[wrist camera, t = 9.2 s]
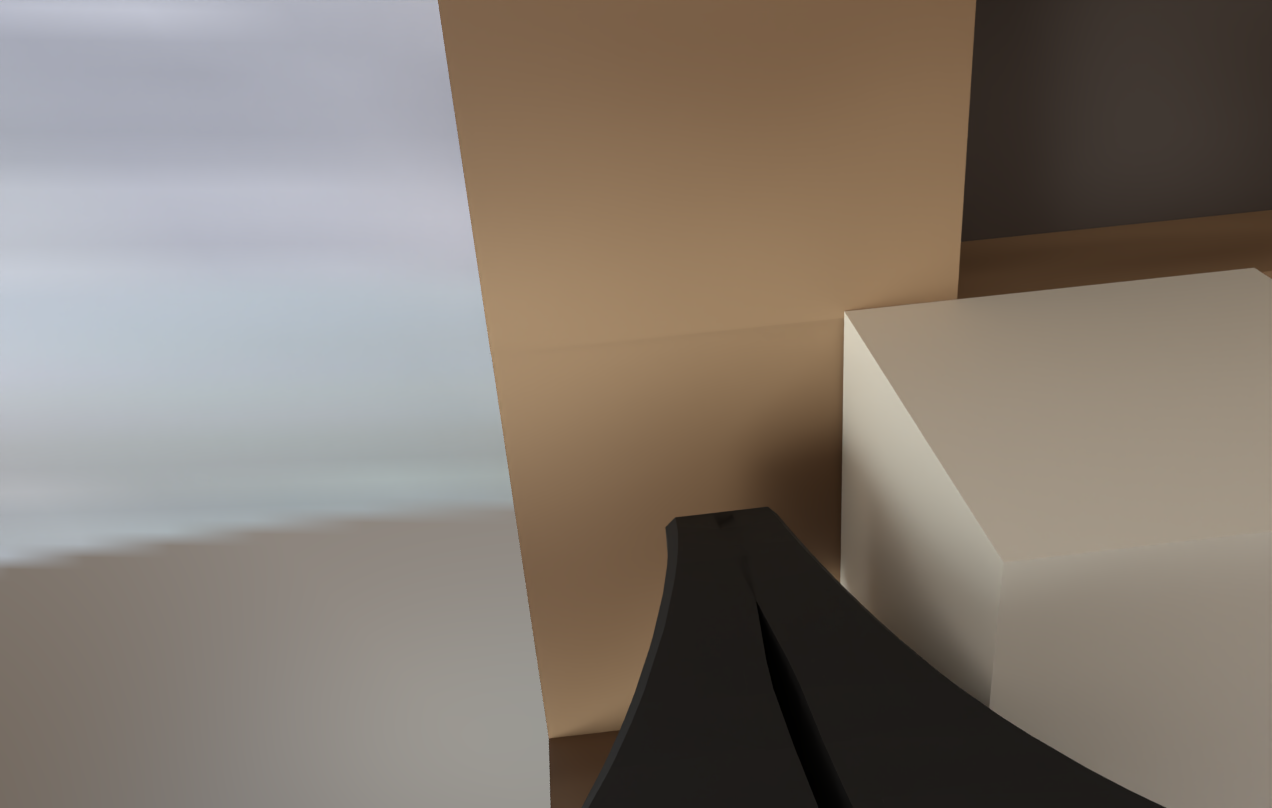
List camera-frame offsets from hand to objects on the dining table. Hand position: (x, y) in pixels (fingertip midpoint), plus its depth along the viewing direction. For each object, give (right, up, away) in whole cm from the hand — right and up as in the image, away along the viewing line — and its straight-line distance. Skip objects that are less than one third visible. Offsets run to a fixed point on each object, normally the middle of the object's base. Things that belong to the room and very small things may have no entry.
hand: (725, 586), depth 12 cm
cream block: (+4, +1, +1) cm, 4 cm away
